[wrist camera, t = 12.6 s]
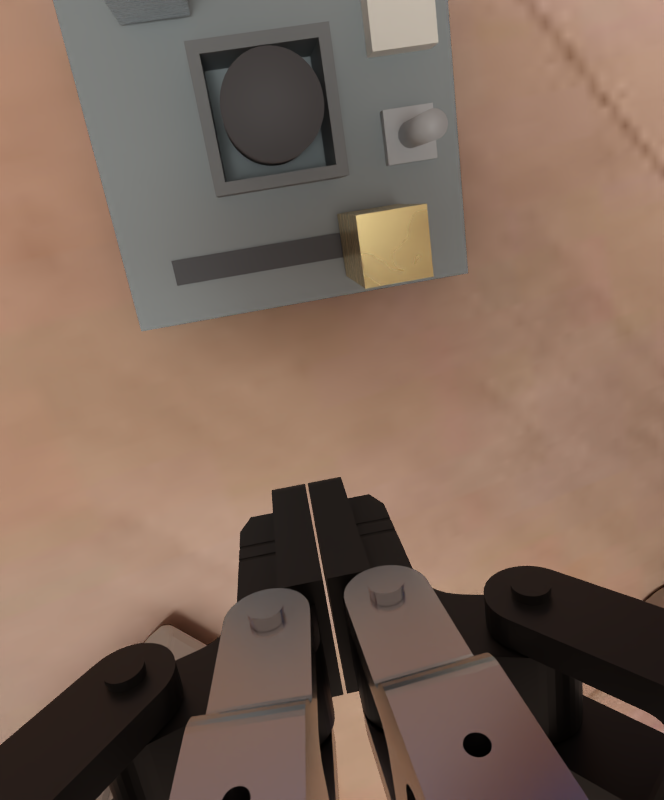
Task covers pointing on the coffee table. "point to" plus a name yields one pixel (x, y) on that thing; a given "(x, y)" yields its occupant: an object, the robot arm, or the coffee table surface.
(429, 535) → the coffee table surface
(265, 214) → the control board
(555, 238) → the coffee table surface
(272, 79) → the black button
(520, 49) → the coffee table surface
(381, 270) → the gold rectangular block
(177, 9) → the light grey block
